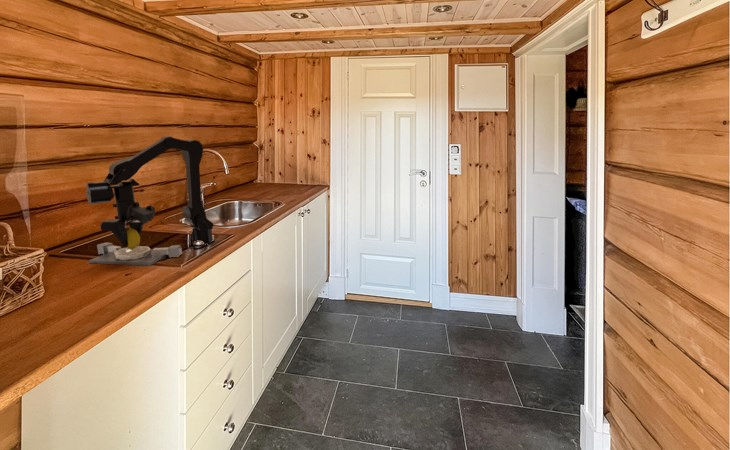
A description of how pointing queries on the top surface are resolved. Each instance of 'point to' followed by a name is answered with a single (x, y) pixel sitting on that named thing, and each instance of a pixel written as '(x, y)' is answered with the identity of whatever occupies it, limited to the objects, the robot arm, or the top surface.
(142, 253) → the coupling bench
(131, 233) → the lemon
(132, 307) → the top surface
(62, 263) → the top surface
